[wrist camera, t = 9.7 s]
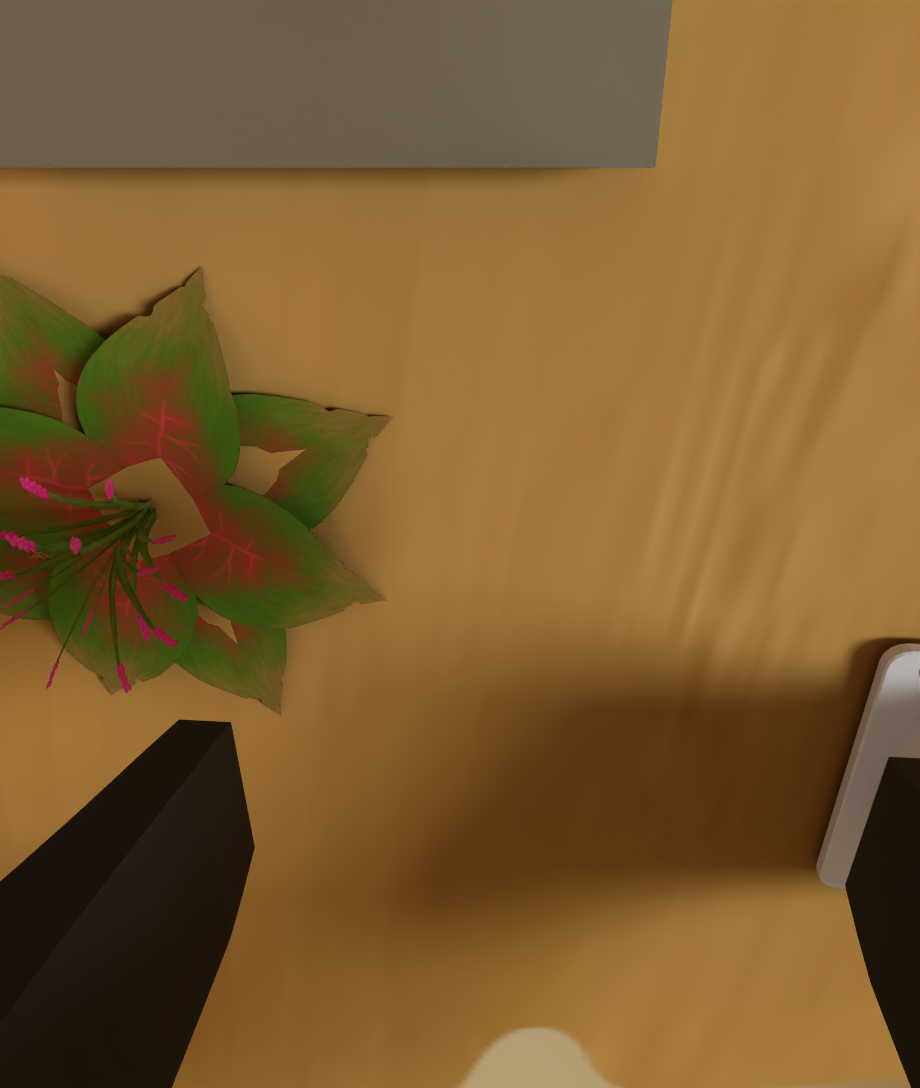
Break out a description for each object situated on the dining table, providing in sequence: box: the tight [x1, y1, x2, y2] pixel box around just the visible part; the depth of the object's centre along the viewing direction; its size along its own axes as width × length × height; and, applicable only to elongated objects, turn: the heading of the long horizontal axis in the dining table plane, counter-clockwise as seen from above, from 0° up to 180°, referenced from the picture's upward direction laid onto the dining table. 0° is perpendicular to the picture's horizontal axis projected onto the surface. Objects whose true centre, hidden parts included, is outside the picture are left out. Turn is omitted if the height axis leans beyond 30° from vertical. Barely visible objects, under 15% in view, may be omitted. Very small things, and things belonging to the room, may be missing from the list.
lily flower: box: [0, 266, 393, 715], centre depth 17 cm, size 12×12×5 cm
